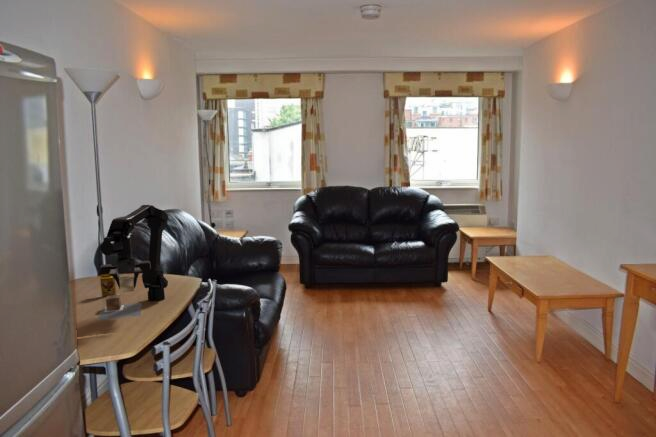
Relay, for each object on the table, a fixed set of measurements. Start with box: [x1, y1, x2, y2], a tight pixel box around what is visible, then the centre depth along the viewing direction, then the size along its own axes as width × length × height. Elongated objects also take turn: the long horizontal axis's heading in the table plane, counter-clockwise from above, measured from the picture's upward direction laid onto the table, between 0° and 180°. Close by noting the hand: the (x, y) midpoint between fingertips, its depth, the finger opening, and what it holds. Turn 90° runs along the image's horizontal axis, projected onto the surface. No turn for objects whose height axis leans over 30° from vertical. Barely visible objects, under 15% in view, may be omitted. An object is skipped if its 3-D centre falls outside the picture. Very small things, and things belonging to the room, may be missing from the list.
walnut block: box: [105, 294, 122, 311], centre depth 225 cm, size 5×5×5 cm
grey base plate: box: [96, 302, 143, 322], centre depth 222 cm, size 16×18×1 cm
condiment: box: [95, 274, 121, 299], centre depth 247 cm, size 7×8×12 cm
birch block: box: [119, 275, 136, 293], centre depth 216 cm, size 5×5×5 cm
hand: (127, 288), depth 216 cm, fingers closed on birch block, 5 cm apart
